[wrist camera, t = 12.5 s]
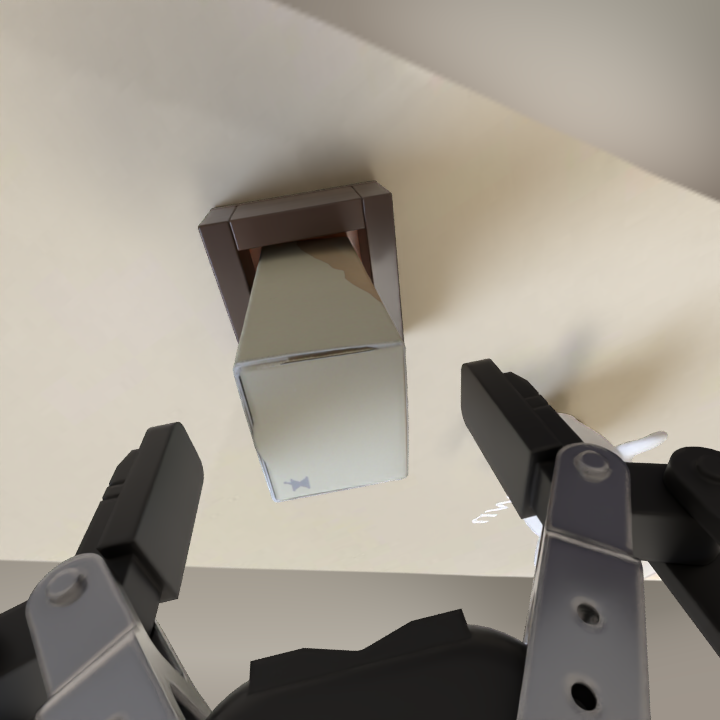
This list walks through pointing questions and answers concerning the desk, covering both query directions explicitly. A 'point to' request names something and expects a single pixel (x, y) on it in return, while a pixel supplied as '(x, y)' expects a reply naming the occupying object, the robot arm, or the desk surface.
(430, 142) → the desk surface
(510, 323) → the desk surface
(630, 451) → the figurine
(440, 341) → the desk surface
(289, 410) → the box
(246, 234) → the box
